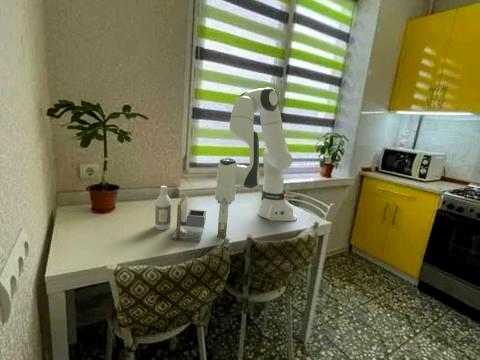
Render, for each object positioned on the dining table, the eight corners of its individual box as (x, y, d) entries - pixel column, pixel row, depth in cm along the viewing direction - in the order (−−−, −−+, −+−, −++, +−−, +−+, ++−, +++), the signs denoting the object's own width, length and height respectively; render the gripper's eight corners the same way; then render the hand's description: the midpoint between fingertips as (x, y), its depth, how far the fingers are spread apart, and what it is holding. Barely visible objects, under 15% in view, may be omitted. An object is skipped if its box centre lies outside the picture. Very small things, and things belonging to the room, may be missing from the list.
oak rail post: (226, 234, 131) (228, 210, 128) (225, 238, 127) (228, 213, 124) (217, 233, 131) (219, 209, 128) (217, 237, 127) (219, 212, 124)
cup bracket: (205, 227, 136) (207, 195, 132) (201, 242, 121) (204, 207, 117) (179, 225, 136) (180, 193, 132) (172, 239, 120) (173, 204, 116)
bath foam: (154, 230, 128) (155, 188, 123) (155, 224, 134) (156, 184, 129) (170, 230, 129) (171, 188, 124) (170, 224, 136) (171, 184, 131)
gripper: (231, 203, 114) (229, 234, 117) (232, 189, 134) (230, 216, 137) (216, 202, 114) (214, 233, 117) (219, 188, 134) (217, 215, 137)
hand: (222, 224), depth 127 cm, fingers open, 8 cm apart
